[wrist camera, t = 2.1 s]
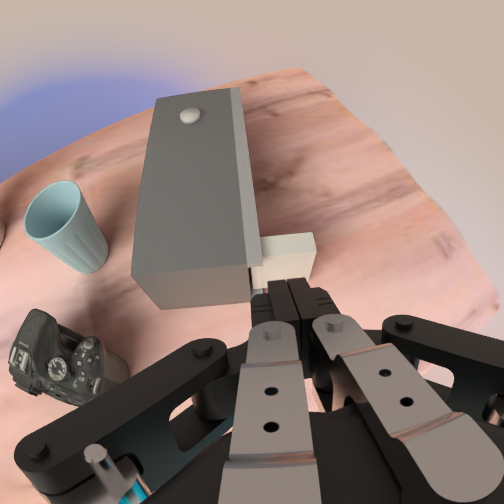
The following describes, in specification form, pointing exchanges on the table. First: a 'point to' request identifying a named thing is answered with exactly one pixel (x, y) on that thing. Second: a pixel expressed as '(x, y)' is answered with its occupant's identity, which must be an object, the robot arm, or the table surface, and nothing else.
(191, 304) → the grey box
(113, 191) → the table surface
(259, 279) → the side door
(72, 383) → the camera
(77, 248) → the cup
